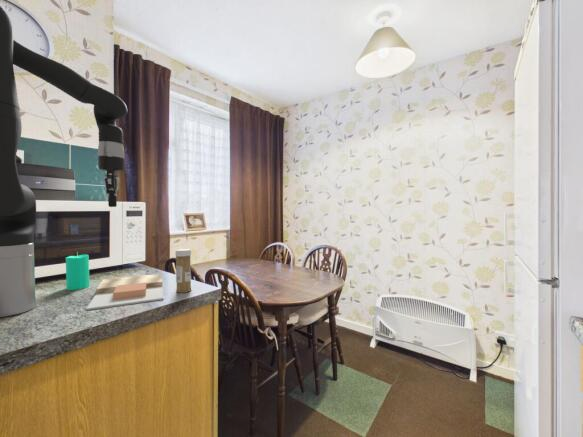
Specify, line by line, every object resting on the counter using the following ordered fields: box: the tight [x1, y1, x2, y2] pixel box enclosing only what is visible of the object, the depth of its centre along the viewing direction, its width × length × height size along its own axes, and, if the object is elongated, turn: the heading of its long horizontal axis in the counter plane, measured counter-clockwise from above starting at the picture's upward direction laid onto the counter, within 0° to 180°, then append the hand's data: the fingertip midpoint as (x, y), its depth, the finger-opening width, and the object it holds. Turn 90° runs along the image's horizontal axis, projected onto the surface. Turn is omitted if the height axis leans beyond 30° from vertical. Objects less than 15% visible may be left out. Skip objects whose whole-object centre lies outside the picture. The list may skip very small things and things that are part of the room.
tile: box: [113, 282, 146, 300], centre depth 79 cm, size 8×8×2 cm
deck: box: [95, 273, 163, 295], centre depth 89 cm, size 18×12×2 cm, turn 118°
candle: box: [65, 251, 90, 291], centre depth 87 cm, size 6×6×12 cm
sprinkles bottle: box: [175, 248, 192, 294], centre depth 84 cm, size 5×5×13 cm
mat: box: [85, 285, 164, 311], centre depth 77 cm, size 18×13×1 cm
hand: (112, 206), depth 91 cm, fingers closed
